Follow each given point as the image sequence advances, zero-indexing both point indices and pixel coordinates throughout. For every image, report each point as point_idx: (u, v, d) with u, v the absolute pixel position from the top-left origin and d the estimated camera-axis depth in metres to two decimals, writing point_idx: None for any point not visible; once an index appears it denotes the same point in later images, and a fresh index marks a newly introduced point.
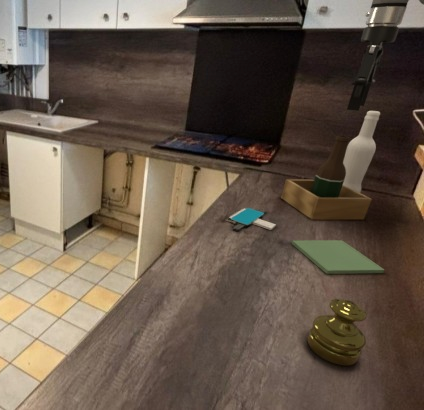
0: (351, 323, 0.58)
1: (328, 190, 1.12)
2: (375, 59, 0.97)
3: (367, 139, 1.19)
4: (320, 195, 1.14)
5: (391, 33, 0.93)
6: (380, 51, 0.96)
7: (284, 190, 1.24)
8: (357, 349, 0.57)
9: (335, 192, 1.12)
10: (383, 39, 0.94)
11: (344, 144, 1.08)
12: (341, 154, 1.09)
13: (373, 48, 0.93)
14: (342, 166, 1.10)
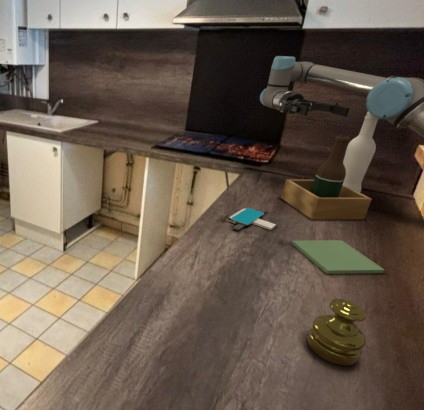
0: (351, 323, 0.58)
1: (328, 190, 1.12)
2: (297, 102, 1.26)
3: (367, 139, 1.19)
4: (320, 195, 1.14)
5: (286, 95, 1.31)
6: (295, 100, 1.28)
7: (284, 190, 1.24)
8: (357, 349, 0.57)
9: (335, 192, 1.12)
10: (286, 99, 1.31)
11: (344, 144, 1.08)
12: (341, 154, 1.09)
13: (280, 103, 1.29)
14: (342, 166, 1.10)
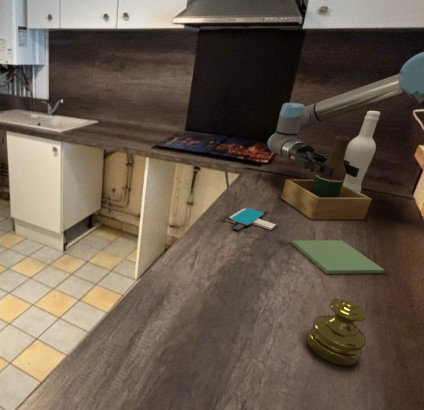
0: (351, 323, 0.58)
1: (328, 190, 1.12)
2: None
3: (367, 139, 1.19)
4: (321, 195, 1.14)
5: (296, 146, 1.26)
6: (305, 152, 1.23)
7: (284, 190, 1.24)
8: (357, 349, 0.57)
9: (335, 192, 1.12)
10: (295, 150, 1.25)
11: (344, 144, 1.08)
12: (341, 154, 1.09)
13: (291, 156, 1.22)
14: (342, 166, 1.10)
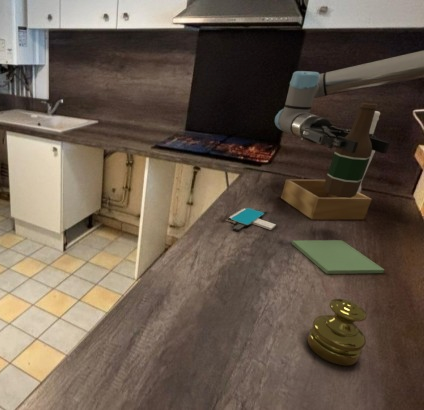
0: (351, 323, 0.58)
1: (351, 170, 0.92)
2: None
3: None
4: (340, 177, 0.94)
5: (309, 120, 1.06)
6: (321, 127, 1.03)
7: (284, 190, 1.24)
8: (357, 349, 0.57)
9: (359, 172, 0.92)
10: (309, 125, 1.05)
11: (371, 112, 0.88)
12: (367, 125, 0.89)
13: (304, 132, 1.02)
14: (368, 140, 0.90)
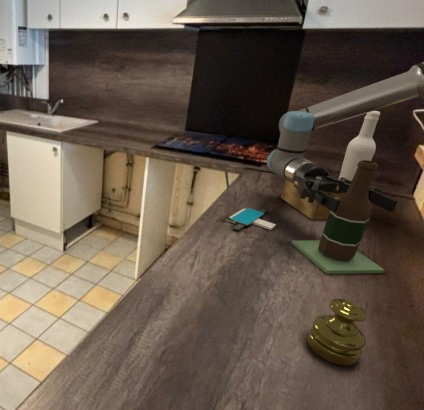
0: (351, 323, 0.58)
1: (348, 233, 0.83)
2: None
3: (367, 139, 1.19)
4: (337, 239, 0.85)
5: (304, 168, 0.97)
6: (316, 177, 0.94)
7: (284, 190, 1.24)
8: (357, 349, 0.57)
9: (357, 236, 0.83)
10: (303, 174, 0.96)
11: (370, 173, 0.79)
12: (366, 186, 0.80)
13: (295, 181, 0.94)
14: (367, 202, 0.81)
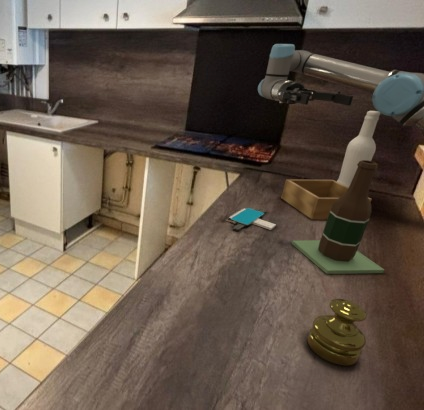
0: (351, 323, 0.58)
1: (348, 233, 0.83)
2: (297, 91, 1.19)
3: (367, 139, 1.19)
4: (337, 239, 0.85)
5: (285, 84, 1.24)
6: (294, 89, 1.21)
7: (284, 190, 1.24)
8: (357, 349, 0.57)
9: (357, 236, 0.83)
10: (285, 88, 1.23)
11: (370, 173, 0.79)
12: (366, 186, 0.80)
13: (278, 92, 1.21)
14: (367, 202, 0.81)
